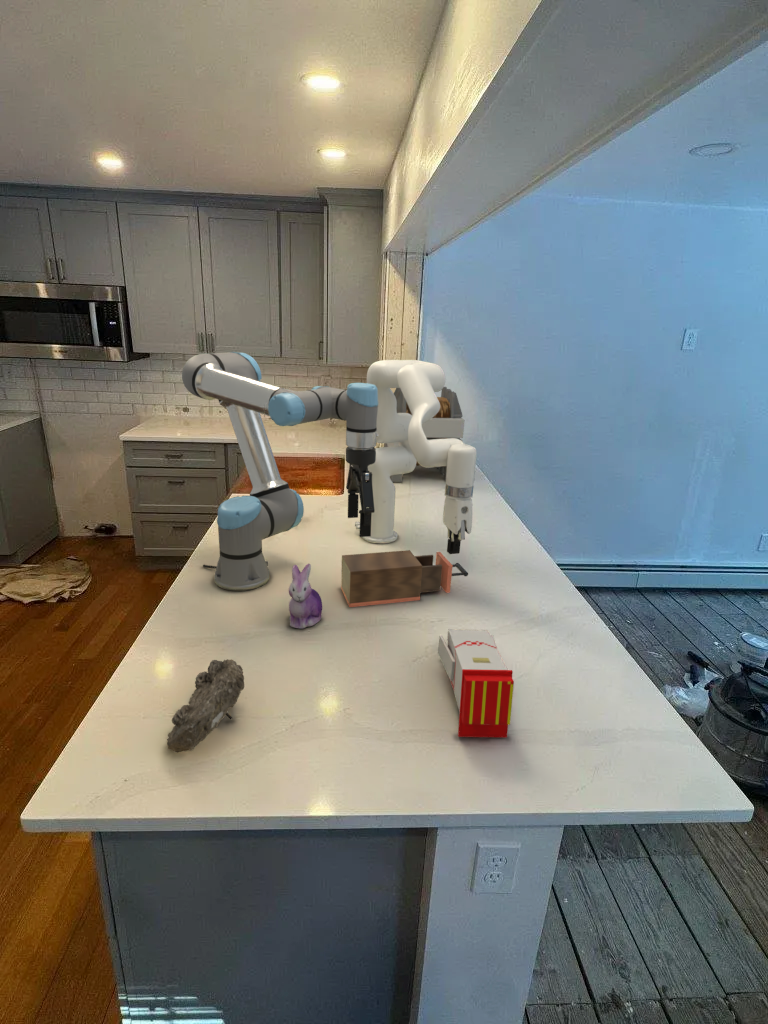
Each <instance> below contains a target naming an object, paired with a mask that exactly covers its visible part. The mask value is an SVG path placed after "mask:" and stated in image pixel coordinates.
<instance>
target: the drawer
mask: <svg viewBox="0 0 768 1024" xmlns="http://www.w3.org/2000/svg"><path fill="white" fill-rule="evenodd" d="M414 556H415V557H416V558H417V560H418V561H419V562H420V563H421V565H422V577H421V590H420V594H421V593H430V592H440V591H441V588H442V590H443V591H444V593H446V594H449V593H451V587H452V578H453V577H458V576H464V577H468V576H469V572H468V571H467V570H466V569H465V568H464V567H463V566H462V565H461V564H460V563H459V562H456V563H453V564H452V563H451V562H450V561H449V560H448V558H447V557H446V556H444V554H443V553H442V552H441V551H436V553H435V564H434V554H423V555H414ZM453 568H456V569H457V571H459V572H453Z"/></svg>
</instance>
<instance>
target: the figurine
mask: <svg viewBox="0 0 768 1024" xmlns="http://www.w3.org/2000/svg"><path fill="white" fill-rule="evenodd" d="M311 569H312V565H311V563H307V564H306V565H305V566H304V567H303V569H302V570H301V571H300V568H299V566H298V565H297V564H293V565H292V568H291V576H292V577H291V578H292V580H291V583H290V584H289V588H288V595H289V596H290V600H289V602H288V611H289V626H290V627H291V628H296V629H305V628H307V627H312V626H315V625H316V624H318V623H319V622H320V621H321V620H322V614H323V600H322V597H321V595H320V594H319V592H318V591H317V590H316V589H314V588H312V586H311V583H310V581H309V577H310V574H311Z"/></svg>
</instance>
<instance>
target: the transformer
mask: <svg viewBox="0 0 768 1024" xmlns="http://www.w3.org/2000/svg"><path fill="white" fill-rule="evenodd" d="M393 393H394V395H395V397H396V401H397V413H409V414H411V415H412V413H411V411H410V409H409V406H408V404H407V402H406V400H405V397H404V395H403V393H402V391H401V388H395V390H394V392H393ZM440 393H441V394H440V396H437V399H438V401H439V403H440V410H439V412H438V413H437V414H436V415H435V416H434V417H433V418H431V419H430V420H428V421H426V422H424V423H423V424H422V429H423V432H424V434H425V436H426V438H427V440H433V439H447V438H456V439H459V440H460V441H462V442H463V443H464V441H463V440H462V439H463V438H464V431H465V430H464V429H465V419H464V418H463V411H462V408H461V405H460V402H459V398H458V395H457V392H455V391H453V390H452V389H451V388H447V386H444V387H443V389H442V390H441V391H440ZM389 446H399V442H395V443H383V447H389ZM417 466H418V467H422V466H421V465H420V464H419V463H418V462H416V466H415V467H417ZM436 468H437V470H438V469H439V473H440V474H441V475H443V478H444V479H445V480H446V472H447V466H440V467H436ZM403 475H404V474H397V475H391V476H390V479H391V481H392V482H393V483H402V482H403Z"/></svg>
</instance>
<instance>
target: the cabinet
mask: <svg viewBox="0 0 768 1024" xmlns="http://www.w3.org/2000/svg"><path fill="white" fill-rule="evenodd" d="M415 556H416V555H415V554H414V553H413V552H412V551H411V550H410V549H406V550H394V551H380V552H368V553H366V552H365V553H353V554H343V555H342V554H341V577H340V579H341V581H340V589H341V592H342V594H343V596H344V598H345V601H346V603H347V605H348V608H354V607H355V608H356V607H367V606H375V605H376V606H377V605H385V604H395V603H405V602H414V601H420V600H421V593H420V590H421V577H422V565H421V563H420V562H419V561H418V560H417V558H416V557H415Z"/></svg>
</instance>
